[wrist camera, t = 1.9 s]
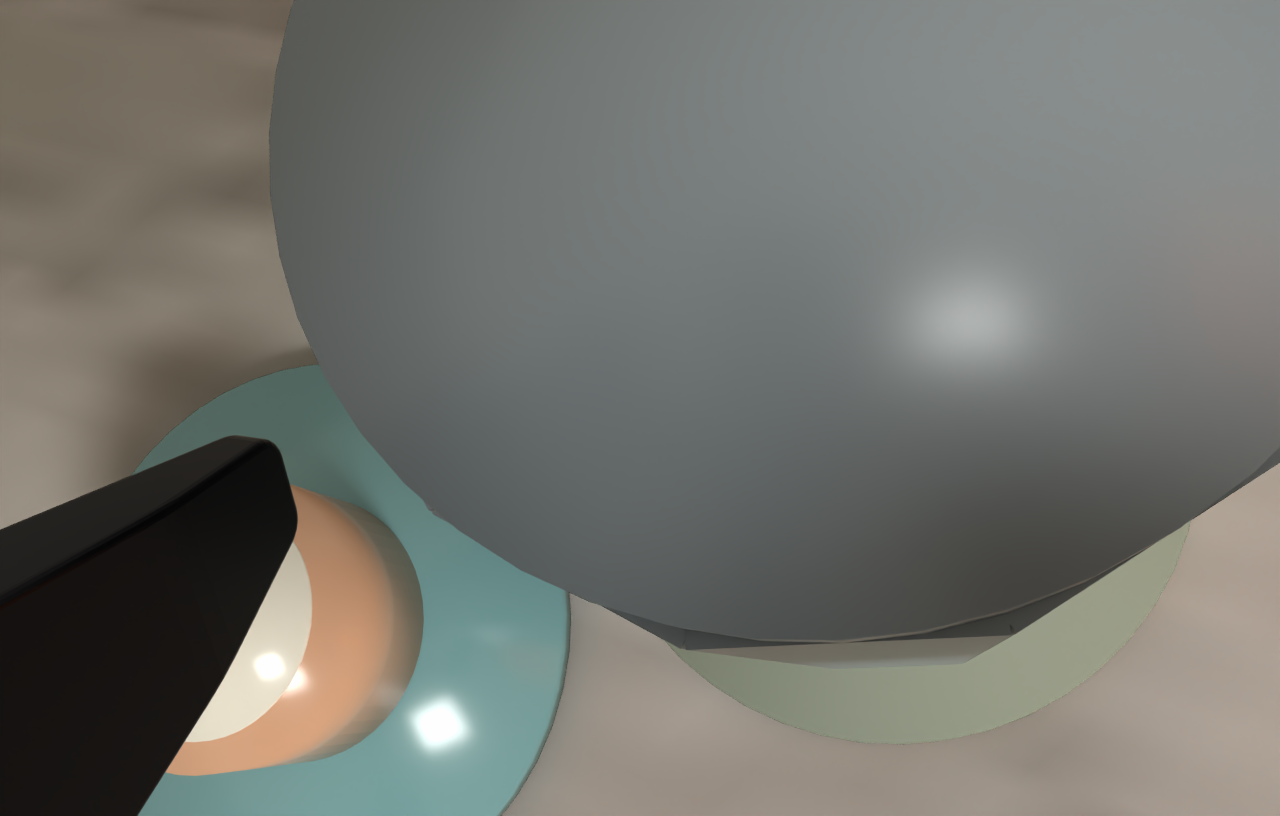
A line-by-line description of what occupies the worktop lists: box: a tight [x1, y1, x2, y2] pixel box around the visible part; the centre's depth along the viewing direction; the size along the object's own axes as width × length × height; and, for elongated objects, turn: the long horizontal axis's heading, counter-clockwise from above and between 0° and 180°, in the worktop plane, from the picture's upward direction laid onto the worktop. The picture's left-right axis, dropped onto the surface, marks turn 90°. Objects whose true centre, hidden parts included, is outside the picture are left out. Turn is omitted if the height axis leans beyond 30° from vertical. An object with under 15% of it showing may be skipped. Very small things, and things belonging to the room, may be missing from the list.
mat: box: [665, 521, 1191, 744], centre depth 19 cm, size 10×10×1 cm
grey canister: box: [269, 0, 1280, 669], centre depth 13 cm, size 8×8×12 cm
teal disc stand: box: [132, 365, 571, 816], centre depth 20 cm, size 10×10×4 cm
